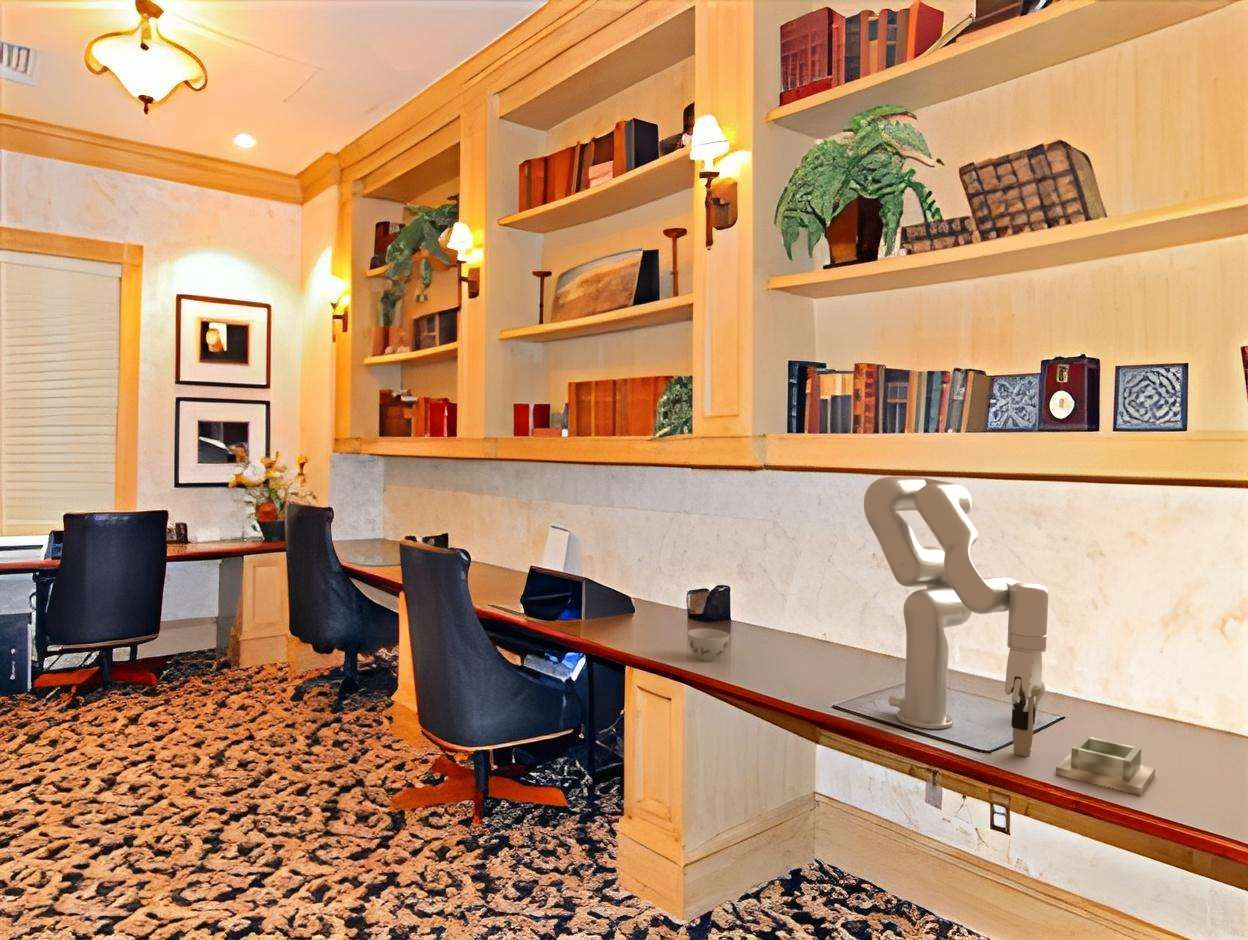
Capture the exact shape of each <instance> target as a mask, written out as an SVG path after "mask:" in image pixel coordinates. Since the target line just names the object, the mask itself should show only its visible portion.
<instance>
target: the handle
mask: <svg viewBox="0 0 1248 940" xmlns="http://www.w3.org/2000/svg"><path fill="white" fill-rule="evenodd" d="M1013 689H1014V686H1013V688H1012V690H1013ZM1039 694H1041V687H1039V686H1037V687H1036V688H1034V689H1033V691H1032V696H1031V697H1029V698H1028V707H1027V711H1028V712H1029V721H1028V730H1027V731H1025V730H1020V729H1016V728H1013V727H1012V743H1013V744H1012V745H1013V749H1012V750H1013V753H1014V754H1016V756H1019V757H1025V758H1027V757H1029V756H1031V753H1032V750H1031V748H1032V744H1033V739H1034V738H1033V737H1034V725H1033V697H1035V696H1038V695H1039ZM1020 695H1021V696H1024V695H1025V694H1023V693H1021V694H1020ZM1020 700H1021V701H1023V704H1024V699H1020Z"/></svg>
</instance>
